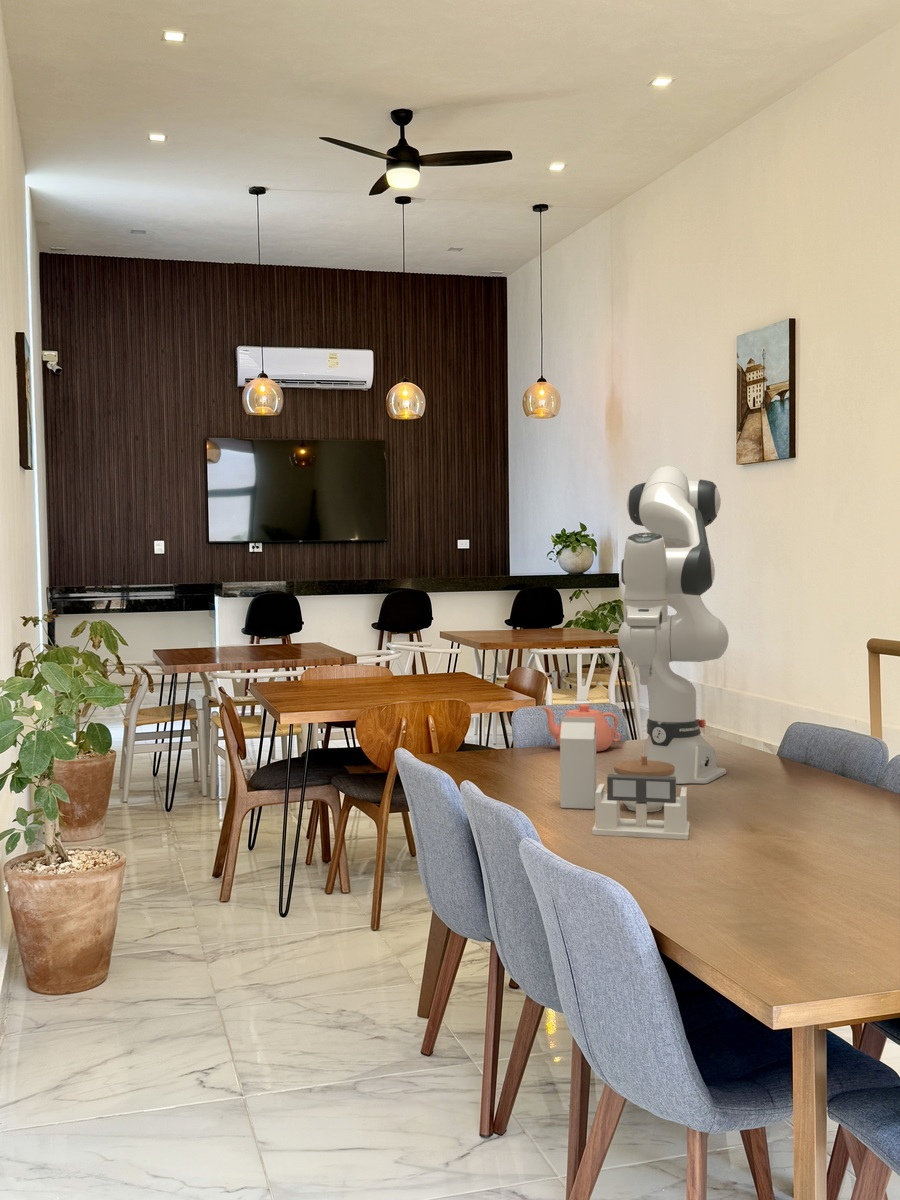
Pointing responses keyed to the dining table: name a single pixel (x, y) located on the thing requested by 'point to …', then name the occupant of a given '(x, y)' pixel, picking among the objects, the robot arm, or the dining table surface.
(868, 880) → the dining table surface
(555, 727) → the teapot
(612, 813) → the stand
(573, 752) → the milk carton
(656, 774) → the lidded bowl
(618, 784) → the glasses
